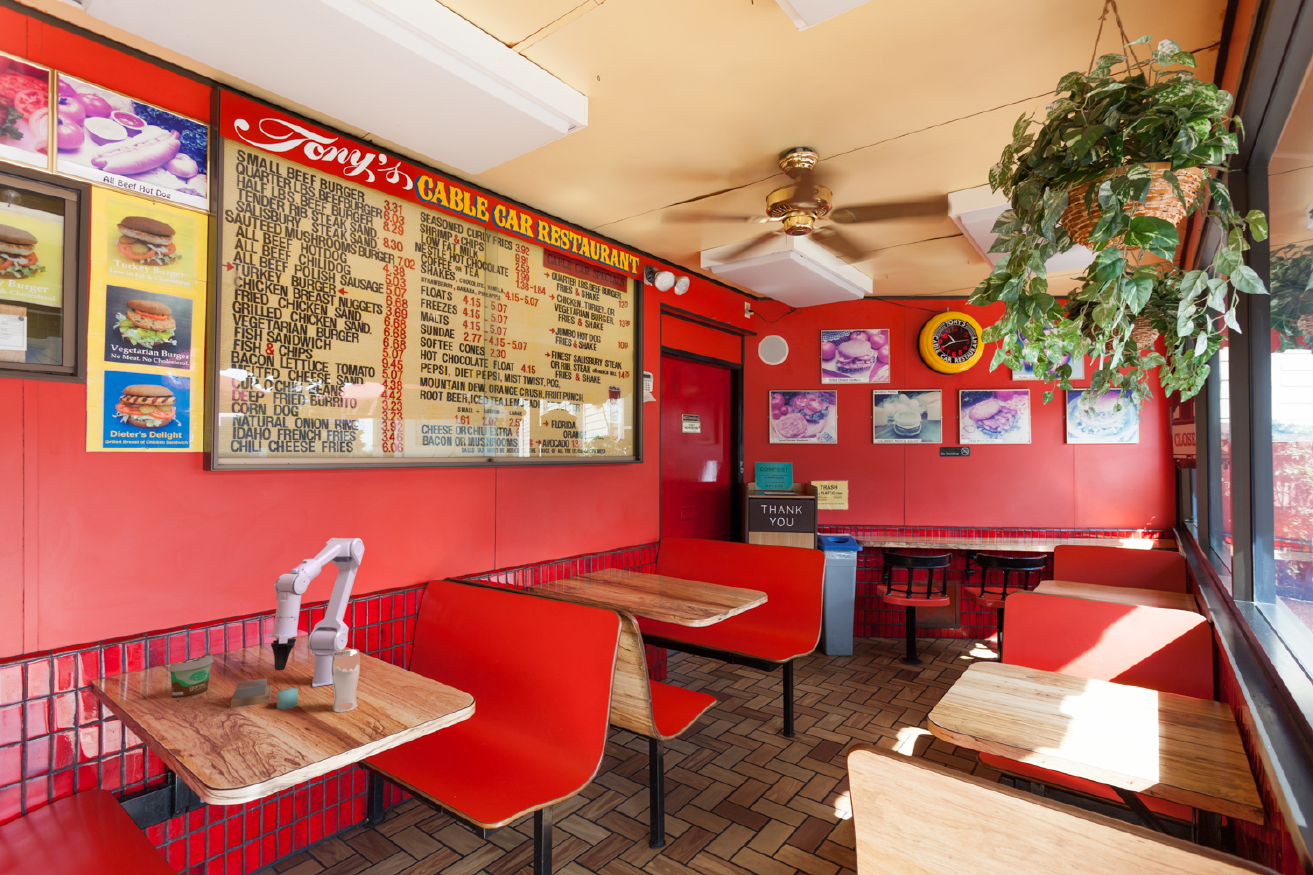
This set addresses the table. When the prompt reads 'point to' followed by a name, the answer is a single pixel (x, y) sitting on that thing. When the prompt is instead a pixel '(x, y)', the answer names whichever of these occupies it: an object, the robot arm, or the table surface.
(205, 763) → the table surface
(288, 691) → the teal domed cylinder
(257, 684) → the tower top
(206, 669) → the food container
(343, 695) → the beer glass
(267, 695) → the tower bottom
